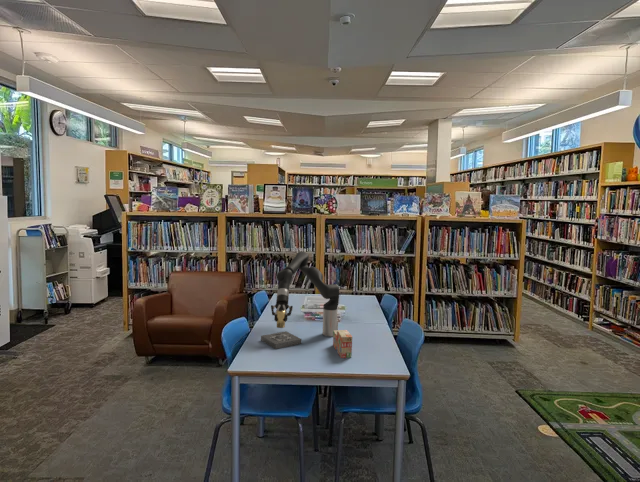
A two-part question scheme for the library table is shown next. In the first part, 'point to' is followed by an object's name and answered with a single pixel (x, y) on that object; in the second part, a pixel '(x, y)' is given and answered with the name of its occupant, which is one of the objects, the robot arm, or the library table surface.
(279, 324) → the brass sleeve
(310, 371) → the library table surface
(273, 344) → the plate
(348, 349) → the stack of blocks
